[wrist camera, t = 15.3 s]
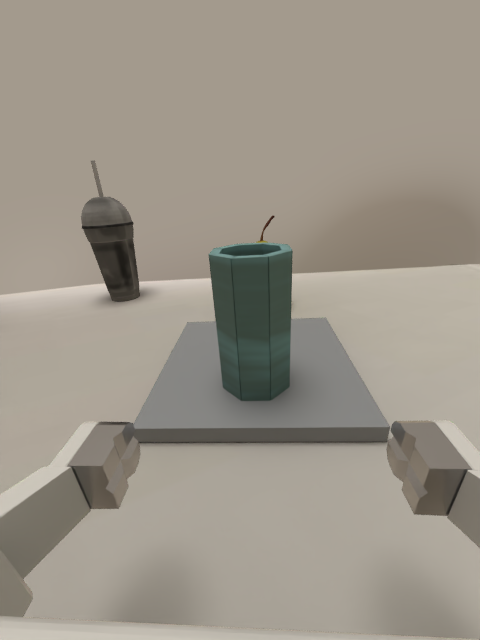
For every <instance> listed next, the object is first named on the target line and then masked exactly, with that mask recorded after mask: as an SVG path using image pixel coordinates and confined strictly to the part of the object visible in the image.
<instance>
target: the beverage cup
mask: <svg viewBox="0 0 480 640" xmlns="http://www.w3.org/2000/svg"><path fill="white" fill-rule="evenodd" d="M91 164H92V168H93V172H94V176H95V180H96V184H97V188H98V192H99V196H100V197H97V198H92V199H91V200H89V201H88V202H87V203H86V204H85V206H84V208H83V210H82V216H81V220H82V228H83V229H84V232H85V235H86V237H87V239H88V241H89V242H90V244H91V246H92V249H93V252H94V254H95V257H96V260H97V262H98V265H99V268H100V270H101V273H102V275H103V278H104V281H105V284H106V286H107V289H108V291H109V293H110V295H111V298H112V300H113V301H128V300H132V299H135V298H137V297H139V296H140V293H139V281H138V274H137V265H136V259H135V250H134V243H133V222H132V220H131V217H130V215H129V212H128V211H127V209H126V208H125V207H124V206H123V205H122V204H121V203H120V202H119V201H117V200H115V199H114V198H111V197H103V193H102V188H101V184H100V180H99V176H98V172H97V168H96V163H95V161H91Z"/></svg>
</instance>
